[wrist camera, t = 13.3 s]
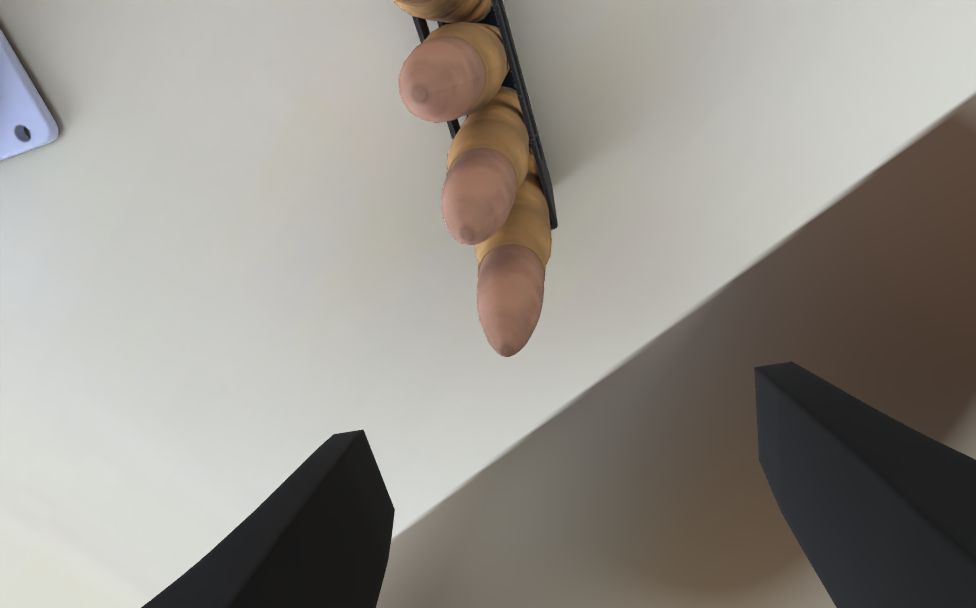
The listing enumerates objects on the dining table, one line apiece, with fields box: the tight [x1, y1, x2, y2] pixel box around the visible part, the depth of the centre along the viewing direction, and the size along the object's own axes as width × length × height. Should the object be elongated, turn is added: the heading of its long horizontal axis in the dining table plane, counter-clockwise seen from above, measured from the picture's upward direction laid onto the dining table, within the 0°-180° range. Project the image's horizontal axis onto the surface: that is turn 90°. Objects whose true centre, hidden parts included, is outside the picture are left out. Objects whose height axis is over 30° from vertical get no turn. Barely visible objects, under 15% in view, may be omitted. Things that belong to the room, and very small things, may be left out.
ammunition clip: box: [394, 0, 558, 357], centre depth 12 cm, size 11×2×12 cm, turn 17°
